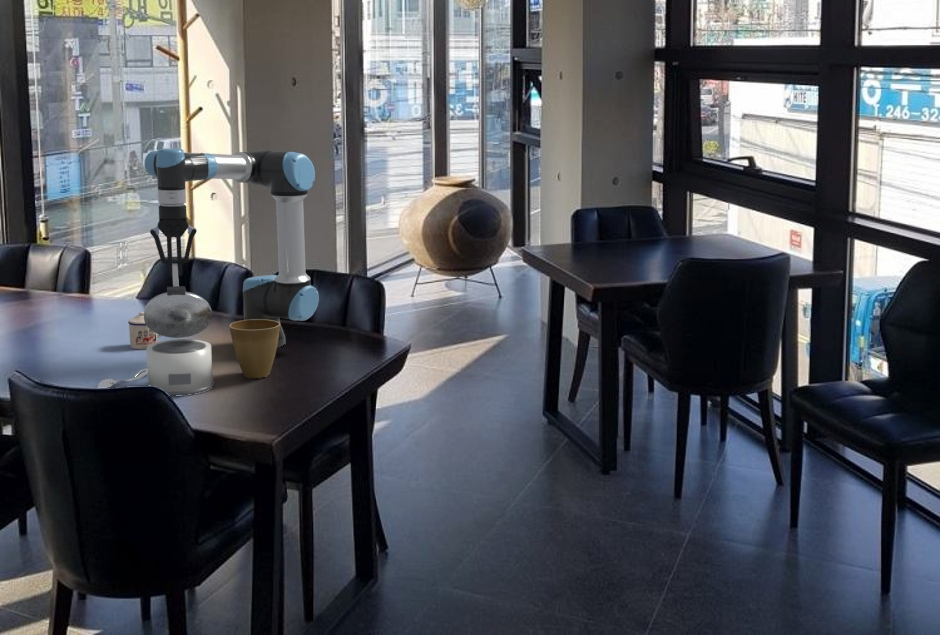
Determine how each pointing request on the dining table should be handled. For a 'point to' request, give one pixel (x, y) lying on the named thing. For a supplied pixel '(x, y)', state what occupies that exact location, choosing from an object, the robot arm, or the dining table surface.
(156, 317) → the lid
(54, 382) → the dining table surface
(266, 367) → the plant pot
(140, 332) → the teacup with lid
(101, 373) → the dining table surface
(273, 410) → the dining table surface
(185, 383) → the cooker pot
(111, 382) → the stirrer
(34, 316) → the dining table surface
